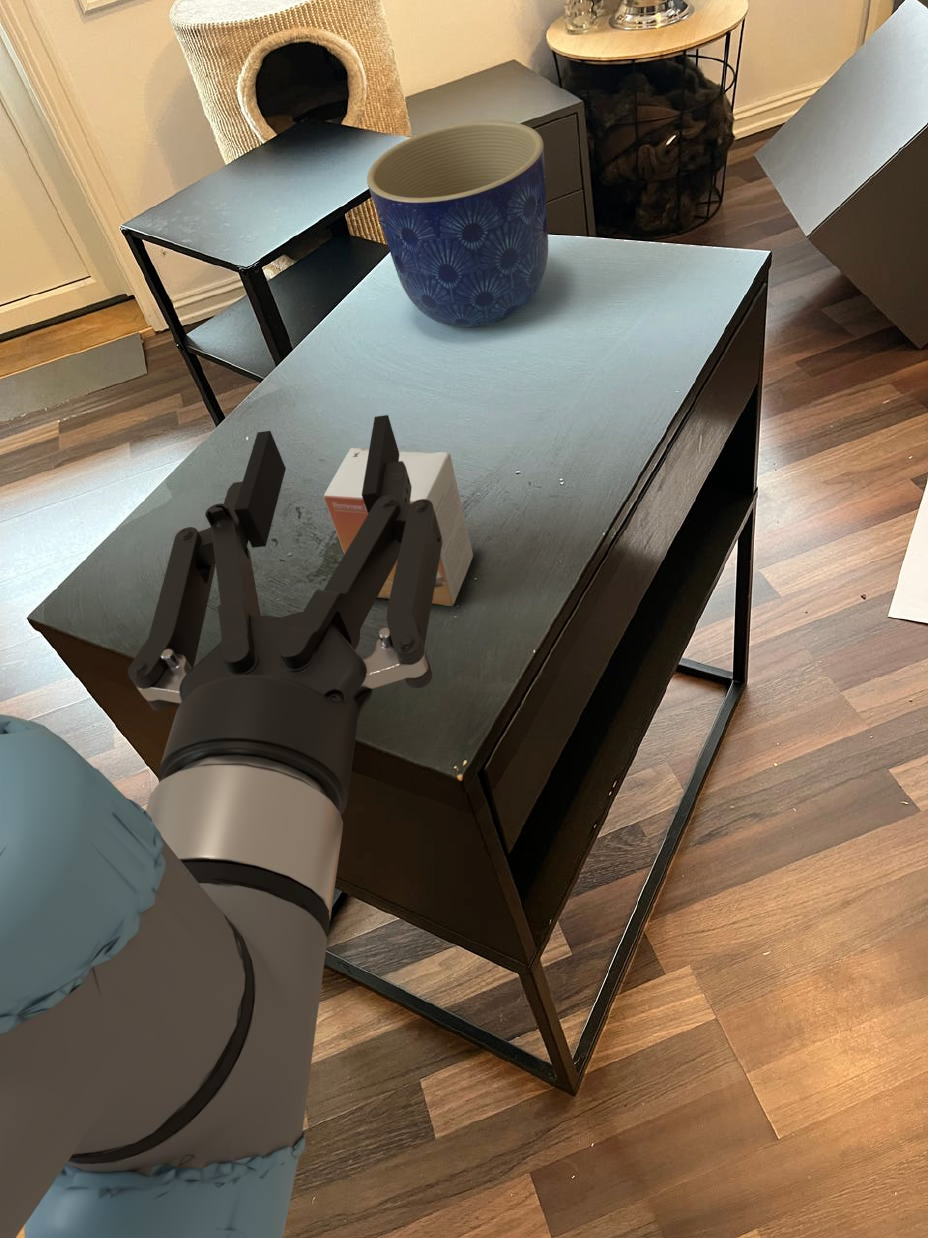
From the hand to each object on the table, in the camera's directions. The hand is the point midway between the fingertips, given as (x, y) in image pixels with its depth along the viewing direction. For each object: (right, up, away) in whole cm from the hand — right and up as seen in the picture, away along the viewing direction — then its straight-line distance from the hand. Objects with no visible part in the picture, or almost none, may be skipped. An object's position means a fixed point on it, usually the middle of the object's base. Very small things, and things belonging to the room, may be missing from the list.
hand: (328, 443), depth 52 cm
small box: (+4, -7, +21) cm, 22 cm away
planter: (+9, +23, +47) cm, 53 cm away
